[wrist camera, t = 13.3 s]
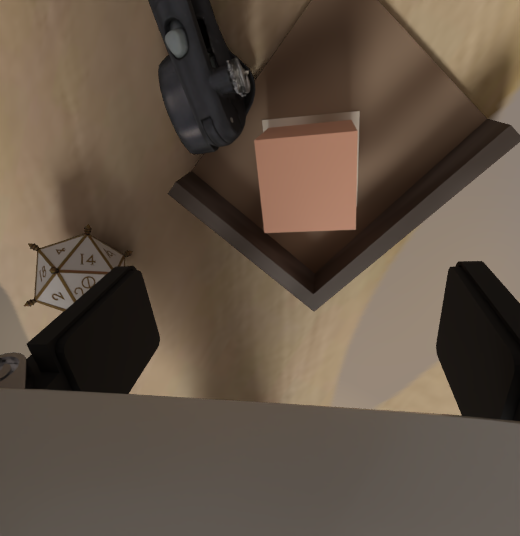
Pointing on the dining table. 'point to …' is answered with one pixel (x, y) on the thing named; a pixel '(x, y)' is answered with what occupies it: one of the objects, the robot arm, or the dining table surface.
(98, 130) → the dining table surface
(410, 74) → the tray
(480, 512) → the robot arm
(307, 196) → the cube
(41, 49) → the dining table surface
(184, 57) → the can opener
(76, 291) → the game die
